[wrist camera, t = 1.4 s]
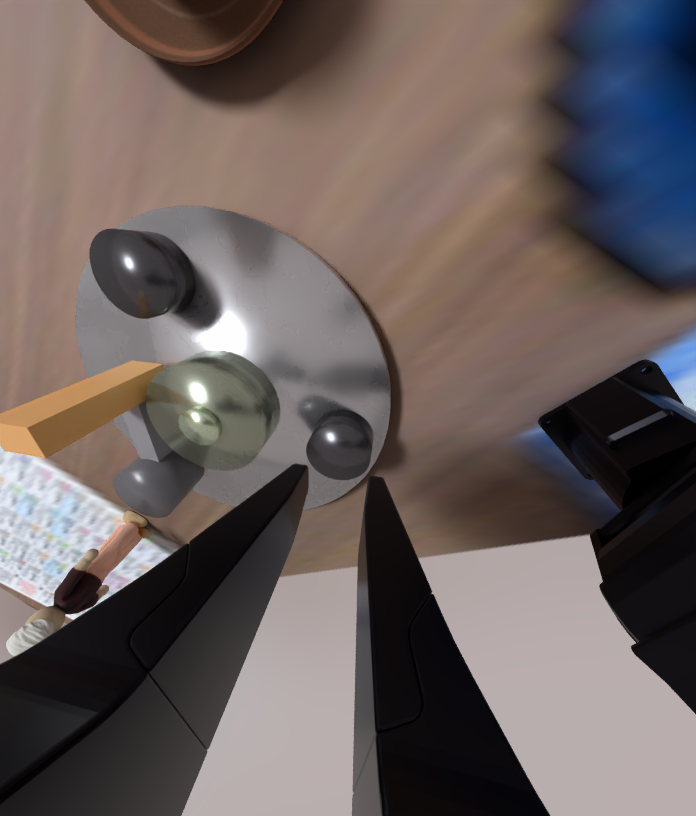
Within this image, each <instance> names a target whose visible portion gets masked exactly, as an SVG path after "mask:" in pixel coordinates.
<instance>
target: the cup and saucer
mask: <svg viewBox="0 0 696 816" xmlns="http://www.w3.org/2000/svg"><path fill="white" fill-rule="evenodd" d="M85 1H86V2H87V4H88V5H89V6H90V7H91V8H92V10H93V11H94V12H95V13H96V14H97V15H98V16H99V17H100V18H101V19H102V20H103V21H104V22H105V23H106V24H107V25H108V26H109V27H110V28H112V29H113V30H114V31H115V32H116V33H117V34H118V35H120V36H121V37H122V38H124V39H125V40H127V41H128V42H129V43H131V44H132V45H134V46H135V47H137V48H139V49H141V50H142V51H144V52H146V53H148V54H150V55H153V56H155V57H157V58H160V59H162V60H165V61H168V62H172V63H176V64H181V65H189V66H195V65H207V64H212V63H216V62H219V61H221V60H224V59H227V58H229V57H230V56H232V55H234V54H236V53H238V52H239V51H240V50H242V49H243V48H244V47H246V46H247V45H248V44H250V43H251V42H252V41H253V40H254V39H255V38H256V37H257V36H258V35H259V34H260V33H261V31H262V30H263V29H264V28H265V27H266V25H267V24H268V23H269V22H270V20H271V19H272V17H273V16H274V14H275V13H276V11H277V10H278V8H279V7H280V5H281V3H282V1H283V0H85Z"/></svg>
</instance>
